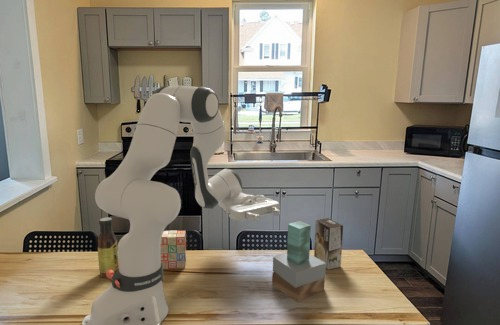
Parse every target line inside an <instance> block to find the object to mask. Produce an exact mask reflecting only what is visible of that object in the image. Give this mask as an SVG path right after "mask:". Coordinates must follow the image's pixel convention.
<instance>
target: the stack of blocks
mask: <svg viewBox="0 0 500 325" xmlns="http://www.w3.org/2000/svg"><path fill="white" fill-rule="evenodd" d="M186 236H187V232H186V230H176V229H175V230H164V231H163V234H162V238H161V263H162V267H163V270H165V269H166V270H170V269H173V270H174V269H185V268H186V265H187V237H186Z"/></svg>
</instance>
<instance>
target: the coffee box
mask: <svg viewBox="0 0 500 325" xmlns="http://www.w3.org/2000/svg"><path fill="white" fill-rule="evenodd" d="M314 226H315V229H314V230H315V231H314V250H313V252H314V254H313V256H314V257H316V258H318V259H320V260H321V261H323V262H325V263H326V270H331V269H336V268H341V267H342V253H343V252H342V251H343V235H344V234H343V232H344V225H343V224H341V223H339V222H337V221H334V220H333V219H331V218H329V217H328V218H320V219H318V220H315V225H314Z"/></svg>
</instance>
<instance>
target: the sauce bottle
mask: <svg viewBox="0 0 500 325" xmlns="http://www.w3.org/2000/svg"><path fill="white" fill-rule="evenodd" d="M98 223H99V226H100V227H99V229H100V231H99V232H100V233H99V235H98V238H97V240H96V241H97V242H96V243H97V256H98V266H99V267H98V271H99V275H100V277H102V278H108V277H107V276H106V273H107V271H108V270H113V271H114V273H116V272H117V270H118V268H119V261H118V239H117V237H116V235H115V233H114V230H113V217H109V216H107V217H102V218H100V219H99V220H98Z"/></svg>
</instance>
